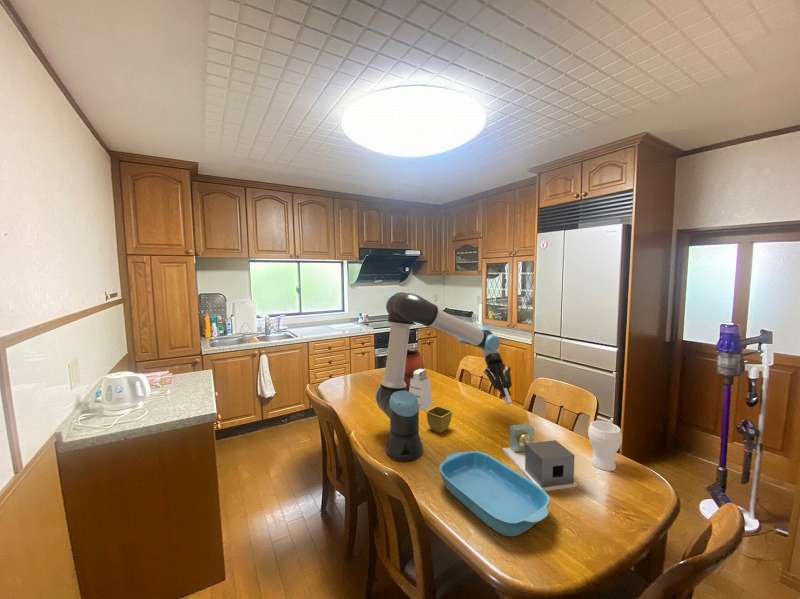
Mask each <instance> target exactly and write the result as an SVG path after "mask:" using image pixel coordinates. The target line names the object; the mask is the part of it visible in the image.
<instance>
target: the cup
mask: <svg viewBox="0 0 800 599" xmlns="http://www.w3.org/2000/svg"><path fill="white" fill-rule="evenodd" d="M587 432H588V434H587V435H588V439H589V442H590V444H591V446H592V450H593V451H592V452H593V454H592V458H591V464H592V465H593V466H594V467H596V468H598V469H599V470H601V471H607V472H612V471H615V470H616V469H617V465H616V459H615V458H616V453H617V452H618V451H619V449H620V448H621V445H622V443H623V434H622V430H621V428H620V427H619V426H618V425H617V424H614V423H612V422H609V421H604V420H594V421H591V422H590V424H589V427H588V429H587Z"/></svg>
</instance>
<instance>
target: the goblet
mask: <svg viewBox="0 0 800 599" xmlns="http://www.w3.org/2000/svg"><path fill="white" fill-rule="evenodd" d="M420 353H421V351H418V350H414V349H413V350H412V349H407V356H406V365H405V373H404V382H405V383H406V385H407V386H406V391H408V392H409V387H410V380H411V378H413V373H414V371H416V370H418V369H424V370H425V365H424V362H423V358H422V357H421V354H420ZM419 375H420V376H421V372H420V374H419ZM412 388H414V387H412Z"/></svg>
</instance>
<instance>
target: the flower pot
mask: <svg viewBox="0 0 800 599" xmlns="http://www.w3.org/2000/svg"><path fill="white" fill-rule="evenodd" d="M452 414H453V411H452V410H450V409H447V408H445V407H442V406H438V405H437V406H434V407H432V408H429V409H427V411H426V419H427V424H428V426H429V428H430V429H431V430H432V431H434V432H436V433H439V434H441V433H443V432H445V431H447V429H448V428H449V427H450V425H451V421H452V416H453V415H452Z"/></svg>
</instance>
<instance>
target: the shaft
mask: <svg viewBox="0 0 800 599" xmlns="http://www.w3.org/2000/svg"><path fill="white" fill-rule="evenodd" d="M534 432H535V428H534V427H533V426H531V424H529V423H523V424H522V423H521V424H512V425H511V424H510V425H509V447H511V448H512V449H513V451H514V452H519V451H525V445H526V443H535V442H534V440H535V439H534V438H535V437H534V436H535V433H534Z"/></svg>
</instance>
